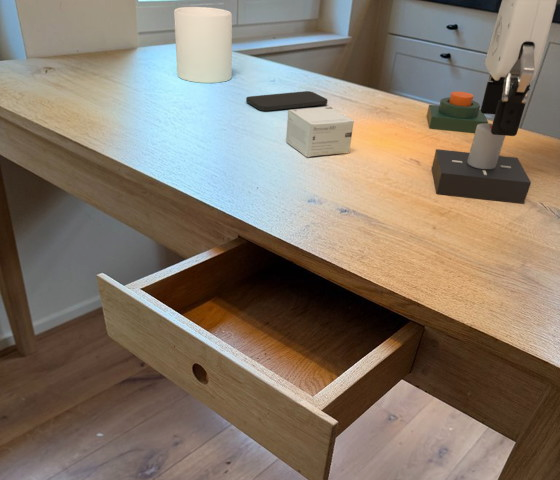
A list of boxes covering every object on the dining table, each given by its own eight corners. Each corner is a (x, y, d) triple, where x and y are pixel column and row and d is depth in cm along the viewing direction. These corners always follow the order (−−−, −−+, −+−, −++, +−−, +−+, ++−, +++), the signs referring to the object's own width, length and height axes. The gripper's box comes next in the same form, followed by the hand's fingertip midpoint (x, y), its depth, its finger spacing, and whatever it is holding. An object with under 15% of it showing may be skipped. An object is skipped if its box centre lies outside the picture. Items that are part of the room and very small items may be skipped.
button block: (479, 122, 108) (485, 99, 105) (484, 134, 101) (491, 111, 99) (426, 116, 108) (431, 94, 106) (429, 129, 102) (434, 105, 100)
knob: (465, 158, 82) (475, 119, 78) (493, 161, 81) (504, 122, 78) (469, 168, 79) (480, 128, 75) (498, 170, 78) (510, 131, 75)
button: (469, 103, 104) (472, 92, 103) (472, 108, 101) (474, 98, 100) (447, 100, 104) (450, 90, 103) (449, 106, 101) (452, 96, 100)
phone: (243, 96, 108) (310, 90, 114) (243, 101, 109) (309, 95, 115) (261, 107, 103) (330, 100, 109) (261, 112, 104) (329, 105, 110)
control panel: (511, 177, 85) (517, 156, 83) (523, 203, 78) (531, 181, 76) (431, 169, 86) (436, 147, 84) (436, 194, 79) (441, 171, 76)
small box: (306, 158, 86) (310, 123, 83) (284, 142, 92) (287, 108, 88) (350, 154, 89) (355, 119, 86) (326, 138, 95) (330, 105, 91)
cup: (208, 67, 129) (206, 5, 121) (242, 78, 123) (243, 14, 115) (166, 74, 122) (162, 8, 114) (201, 85, 116) (199, 17, 108)
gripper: (494, -39, 72) (462, 104, 83) (519, -27, 59) (477, 141, 70) (554, -35, 72) (513, 108, 83) (593, -23, 59) (539, 146, 70)
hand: (497, 123), depth 76 cm, fingers open, 9 cm apart
